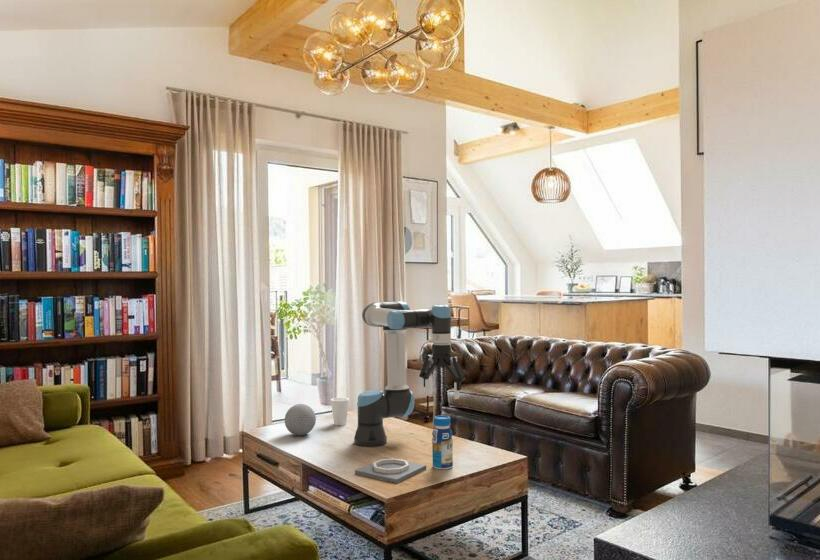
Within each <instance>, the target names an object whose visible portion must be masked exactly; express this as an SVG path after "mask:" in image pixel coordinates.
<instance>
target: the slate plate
mask: <svg viewBox="0 0 820 560" xmlns="http://www.w3.org/2000/svg"><path fill="white" fill-rule="evenodd" d="M426 470H427V465H426V464H421V463H415V462H413V461H412V462H411V461H408V460H405V459H399V458H391V457H387V456H385V457H383V458H381V459H378V460H376V461H373V462H371V463H368V464H366V465H364V466H362V467H359V468H357V469H355V470H354V474H355V475H357V476H362V477H366V478H370V477H371V479H375V478H376V480H379V479H381V480H380V481H384V480H385V482H388V481H390V482H389V483H392V482H394V483H393V484H398V482H399V483H400V481H401V482H403V481H405V480H407V479H409V478H411V477H412V475H413V476H415V475H417V474H419V473H421V472H424V471H426ZM418 472H419V473H418ZM416 473H417V474H416ZM414 474H415V475H414ZM410 476H411V477H410ZM408 477H409V478H408Z"/></svg>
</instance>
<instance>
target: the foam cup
mask: <svg viewBox="0 0 820 560" xmlns="http://www.w3.org/2000/svg"><path fill="white" fill-rule="evenodd" d="M349 404H350V398H349V397H343V396H342V397H333V398H331V399H330V406H331V411H332V419H333V425H334V424H335V426H337V425H342V426H345V424H346V425H347V422H348V421H347V420H348V411H349Z"/></svg>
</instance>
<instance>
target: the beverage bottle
mask: <svg viewBox="0 0 820 560" xmlns="http://www.w3.org/2000/svg"><path fill="white" fill-rule="evenodd" d="M451 420H452V419H451V417H450V416H449V415H436V416H435V415H434V417H433V425H434V428H433V430H432V434H431V435H432V438H431V444H432V445H431V446H432V467H433V468H434V469H436V470H442V469H444V470H449V469H452V468H453V467H454V460H453V457H454V456H453V455H454V454H453V451H454V450H453V449H454V447H453V446H454V445H453V443H454V439H453V437H452V436H453V431H452V429H451V422H452V421H451Z"/></svg>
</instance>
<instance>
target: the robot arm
mask: <svg viewBox="0 0 820 560" xmlns="http://www.w3.org/2000/svg"><path fill="white" fill-rule="evenodd" d="M361 317H362V321H363V322H364V324H365V325H367V326H370V327H373V328H374V327H376V328H381V327H382V331H383V333H385V334H386V335H385V336H386V338H385V339H386V362H387V364H386V365H387V385H386V386H385V387H384V392H383V390H380V389H370V390H366V391H362V392H361V393H359V394H358V395H357V404H356V406H357V427H356V431H355V434H354V437H353V440H354V441H353V442H354V445H356V446H361V447H379V446H383V445H385V444H387V442H388V437H387V435H386V431H385V427H384V423H383V422H384V419H389V418H397V417H404V416H405V417H406V416H409V415H410V414H412V412H413V410H414V409H415V408H414V407H415V396H414V393H413V391H412V390H411V389H410V386H409V385H408V384H407V379H406V378H407V375H406V374H407V373H406V369H407V368H406V346H405V345H406V341H405V340H406V338H405V333H407V331H408V329H425V328H431V340H432V341H431V342H432V346H431V348H432V349H431V351H432V354H427V355H425V360H424V363H423V366H422V368H421V371H420V373H419V375H418V377H419V378H422V380H423V387H424V389H425V390H424V391H425V392H424V393H425V394H424V395H425V396H426V397H427V396H431V378H430V376H431V375H432V374H433V372H435V370H436V369H437V368H445V369H446V370H447V371H448V372H449V374H450V375H451V377H452V378H453V380H454V383H453V386H454V388H453V390H454V391H453V392H454V393H453V395H454V396H453V397H454V400H458V399H460V391H461V390H462V382H464V381H466V380H467V379H466V376H465V374H464V371H463V369H462V367H461V365H460V363H459V357H458V356H452V355H451V354H452V345H451V343H452V330H451V329H452V322H451V321H452V314H451V307H450V305H445V304H444V305H443V304H442V305H441V304H440V305H439V304H438V305H433V306H432V307H431V308H424V309H411V308H410V306H409V304H408V303H407V302H404V301H376V302H372V303H368V305H365V307H364V308H363V310H362V314H361ZM431 361H433V362H432V364H431ZM451 362H452V363H451Z"/></svg>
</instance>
